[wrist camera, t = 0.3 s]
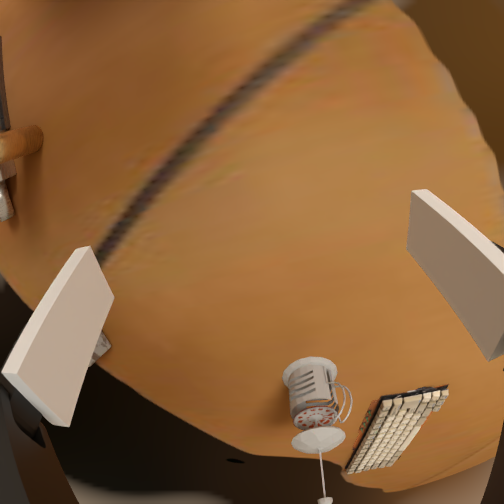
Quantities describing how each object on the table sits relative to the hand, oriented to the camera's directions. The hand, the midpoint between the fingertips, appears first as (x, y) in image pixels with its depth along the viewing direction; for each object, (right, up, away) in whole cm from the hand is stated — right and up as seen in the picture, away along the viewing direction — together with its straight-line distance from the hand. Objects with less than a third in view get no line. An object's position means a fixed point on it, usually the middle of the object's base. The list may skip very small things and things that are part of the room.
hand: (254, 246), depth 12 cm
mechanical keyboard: (+34, -45, +51) cm, 76 cm away
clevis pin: (-31, +16, +22) cm, 42 cm away
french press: (+11, -21, +39) cm, 46 cm away
